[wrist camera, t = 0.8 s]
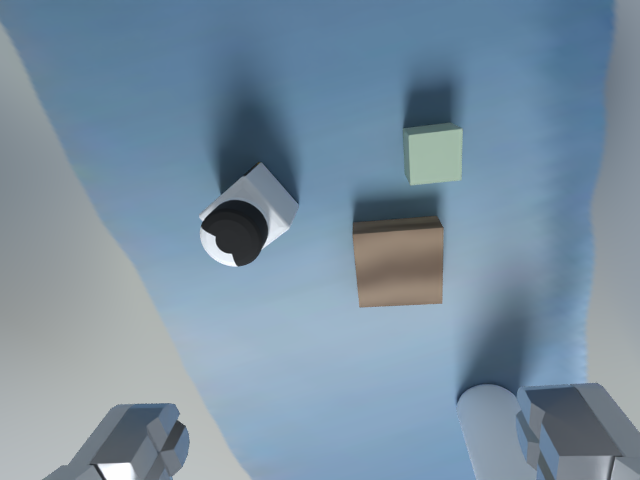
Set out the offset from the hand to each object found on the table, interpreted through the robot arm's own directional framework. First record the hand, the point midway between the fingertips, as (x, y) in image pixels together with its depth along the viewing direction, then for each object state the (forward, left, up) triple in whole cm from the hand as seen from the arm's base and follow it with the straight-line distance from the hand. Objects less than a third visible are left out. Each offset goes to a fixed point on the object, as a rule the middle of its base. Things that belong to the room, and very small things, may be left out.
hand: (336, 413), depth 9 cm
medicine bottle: (+5, -12, -36) cm, 38 cm away
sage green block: (+1, +8, -36) cm, 36 cm away
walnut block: (+14, +4, -36) cm, 39 cm away
